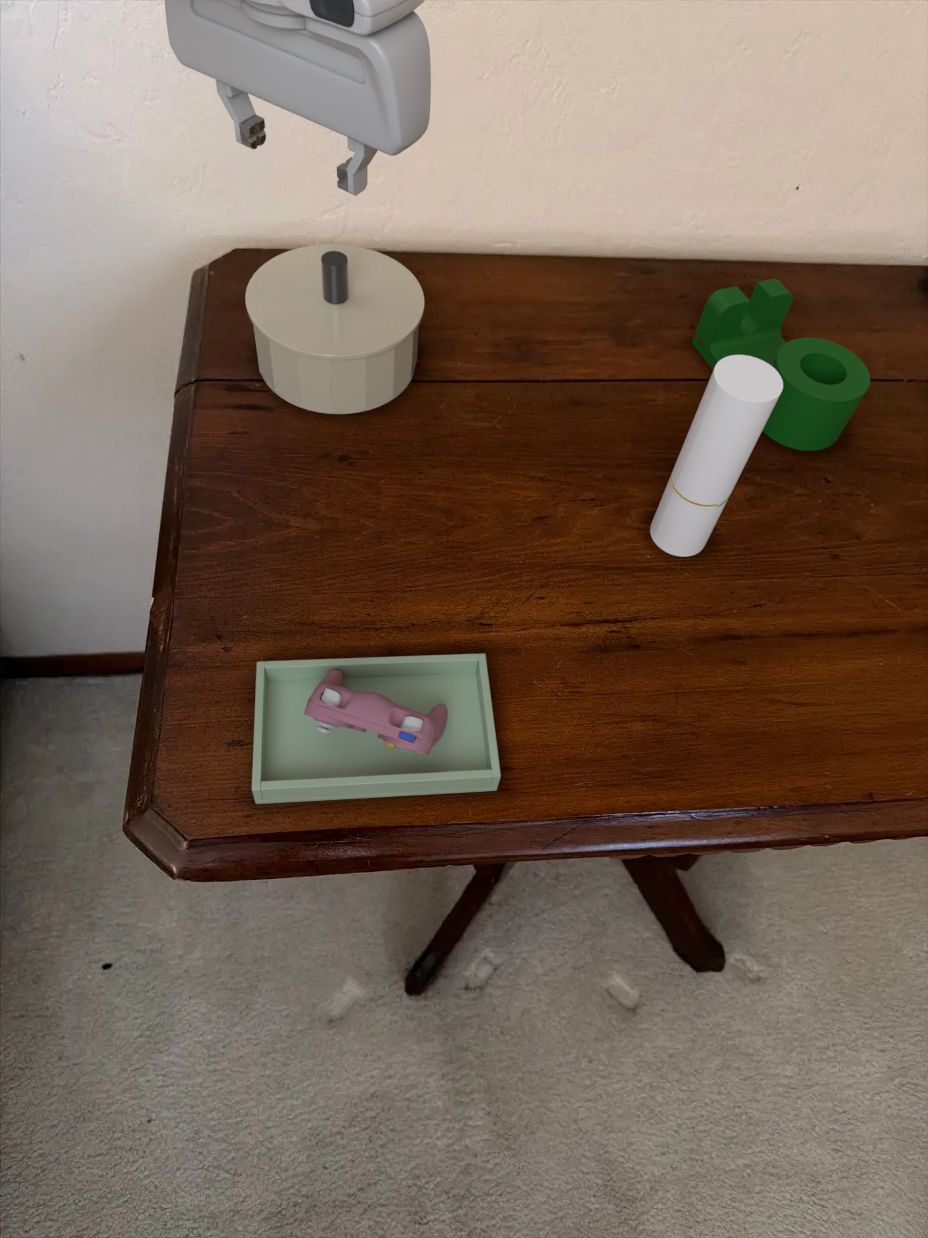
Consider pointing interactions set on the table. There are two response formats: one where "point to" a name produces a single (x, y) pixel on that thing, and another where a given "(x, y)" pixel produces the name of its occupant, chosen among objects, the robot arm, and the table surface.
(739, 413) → the tube
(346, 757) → the tray
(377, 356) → the cream bowl
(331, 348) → the lid
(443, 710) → the video game controller
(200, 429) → the table surface
